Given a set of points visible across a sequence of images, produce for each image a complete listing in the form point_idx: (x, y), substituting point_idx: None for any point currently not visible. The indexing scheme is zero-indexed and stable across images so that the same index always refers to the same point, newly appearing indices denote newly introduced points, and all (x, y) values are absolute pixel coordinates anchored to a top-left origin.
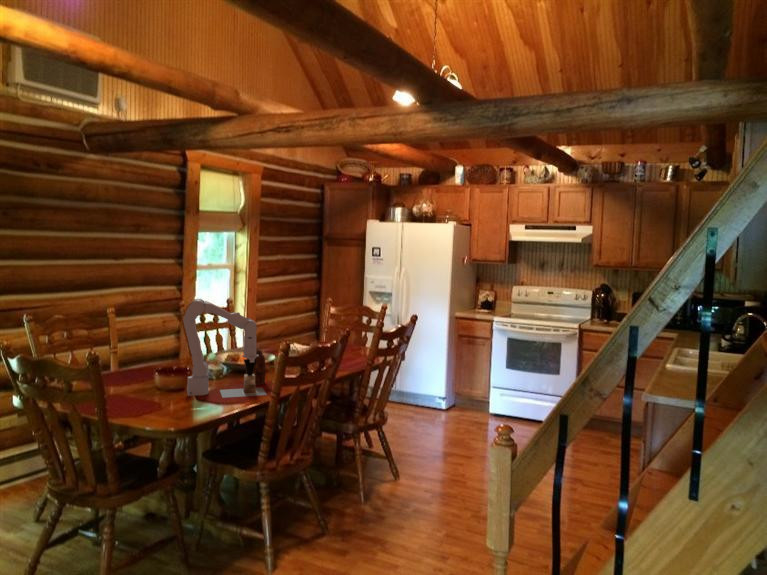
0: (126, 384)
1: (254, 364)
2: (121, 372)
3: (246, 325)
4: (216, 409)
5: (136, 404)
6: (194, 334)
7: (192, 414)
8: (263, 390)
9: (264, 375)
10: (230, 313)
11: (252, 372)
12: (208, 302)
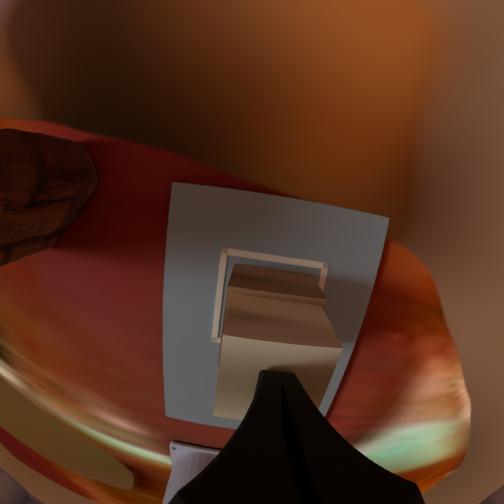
0: (78, 487)
1: (376, 470)
2: (4, 444)
3: None
4: (417, 437)
5: None
6: None
7: (409, 470)
8: (264, 199)
9: (45, 139)
10: None
11: (303, 390)
12: None
